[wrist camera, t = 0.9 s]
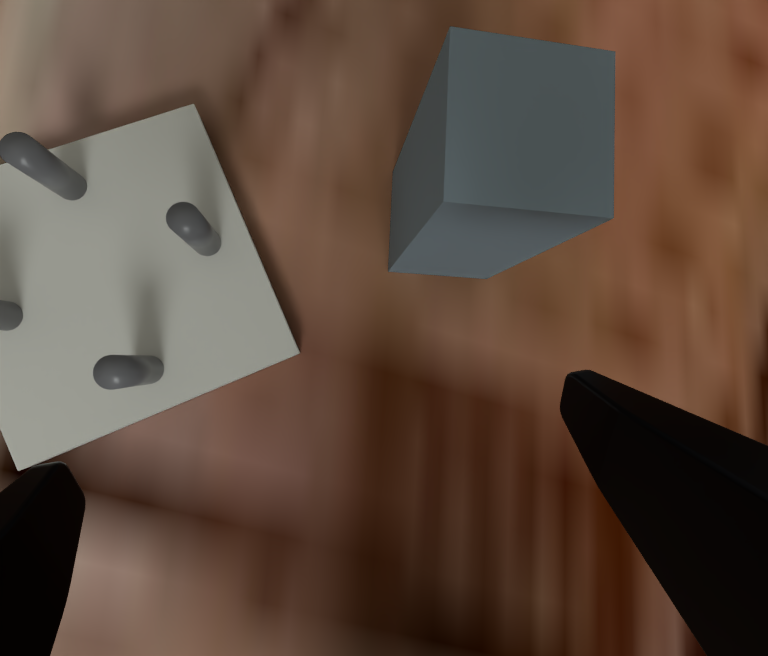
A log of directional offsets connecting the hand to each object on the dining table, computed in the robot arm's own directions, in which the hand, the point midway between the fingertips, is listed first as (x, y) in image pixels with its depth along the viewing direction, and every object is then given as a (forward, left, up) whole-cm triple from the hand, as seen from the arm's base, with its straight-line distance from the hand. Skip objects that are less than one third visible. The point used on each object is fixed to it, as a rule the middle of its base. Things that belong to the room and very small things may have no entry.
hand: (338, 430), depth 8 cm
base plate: (+10, +2, -13) cm, 17 cm away
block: (+1, -10, -13) cm, 16 cm away
